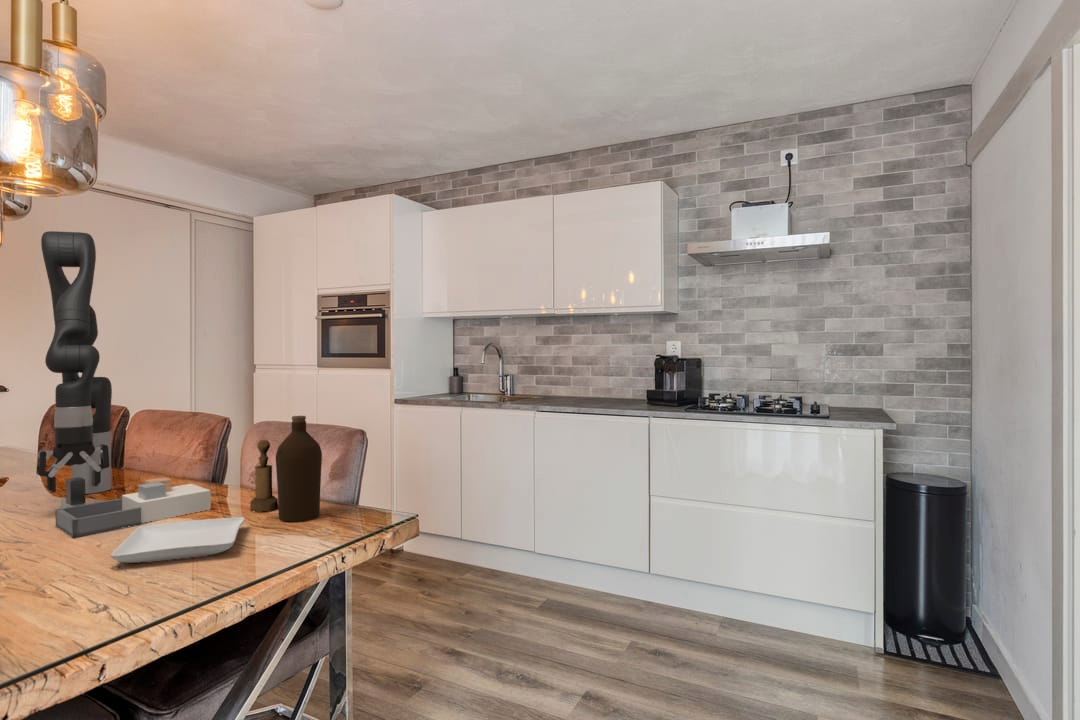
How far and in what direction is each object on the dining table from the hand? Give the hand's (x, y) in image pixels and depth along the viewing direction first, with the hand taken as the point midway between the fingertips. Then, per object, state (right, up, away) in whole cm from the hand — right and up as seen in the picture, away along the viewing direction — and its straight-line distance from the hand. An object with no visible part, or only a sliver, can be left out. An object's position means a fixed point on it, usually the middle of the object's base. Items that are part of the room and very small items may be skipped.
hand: (74, 489), depth 149 cm
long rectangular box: (+22, -6, +2) cm, 23 cm away
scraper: (0, -7, 0) cm, 7 cm away
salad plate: (+42, -8, -24) cm, 49 cm away
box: (+13, -7, -9) cm, 17 cm away
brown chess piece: (+45, -7, +6) cm, 46 cm away
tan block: (+19, -1, +3) cm, 19 cm away
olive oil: (+57, -7, -2) cm, 58 cm away
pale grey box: (+21, -2, -2) cm, 21 cm away
